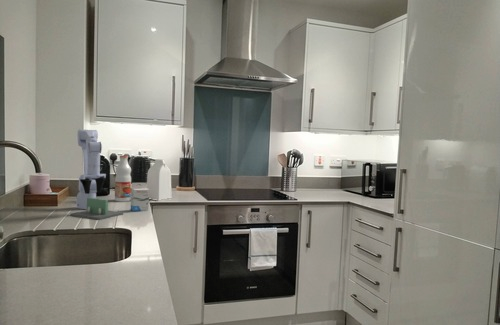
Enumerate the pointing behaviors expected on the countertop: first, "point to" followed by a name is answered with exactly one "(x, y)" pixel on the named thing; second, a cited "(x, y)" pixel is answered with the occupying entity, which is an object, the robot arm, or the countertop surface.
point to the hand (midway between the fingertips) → (93, 192)
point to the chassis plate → (96, 214)
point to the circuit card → (97, 205)
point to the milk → (159, 181)
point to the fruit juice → (123, 181)
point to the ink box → (139, 197)
